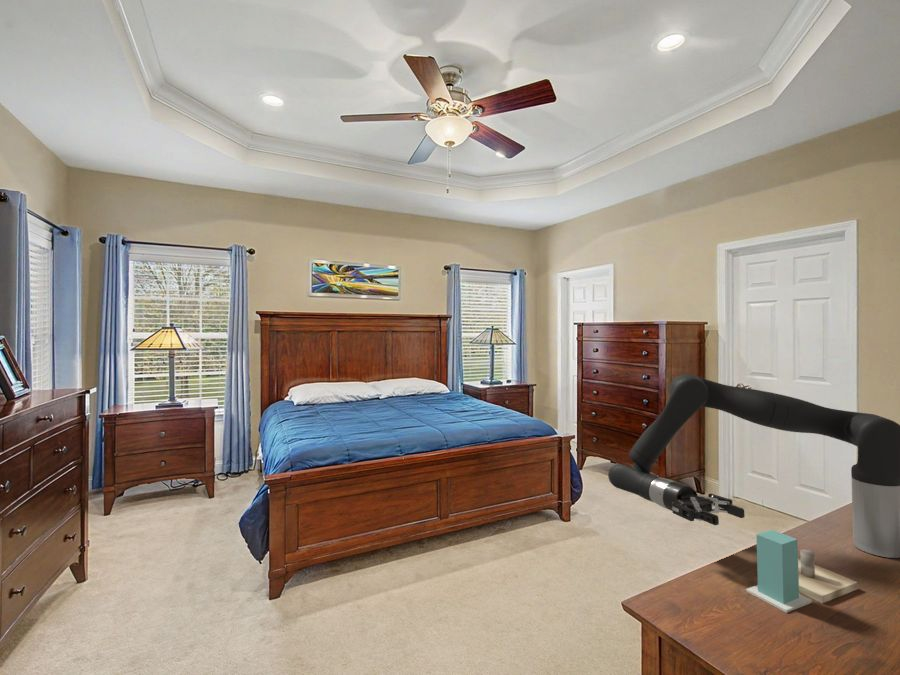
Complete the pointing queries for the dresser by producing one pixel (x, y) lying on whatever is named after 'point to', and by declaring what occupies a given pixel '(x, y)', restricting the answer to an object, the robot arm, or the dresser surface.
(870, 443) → the robot arm
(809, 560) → the post stand
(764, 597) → the mat
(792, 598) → the tall teal pillar
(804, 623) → the dresser surface
